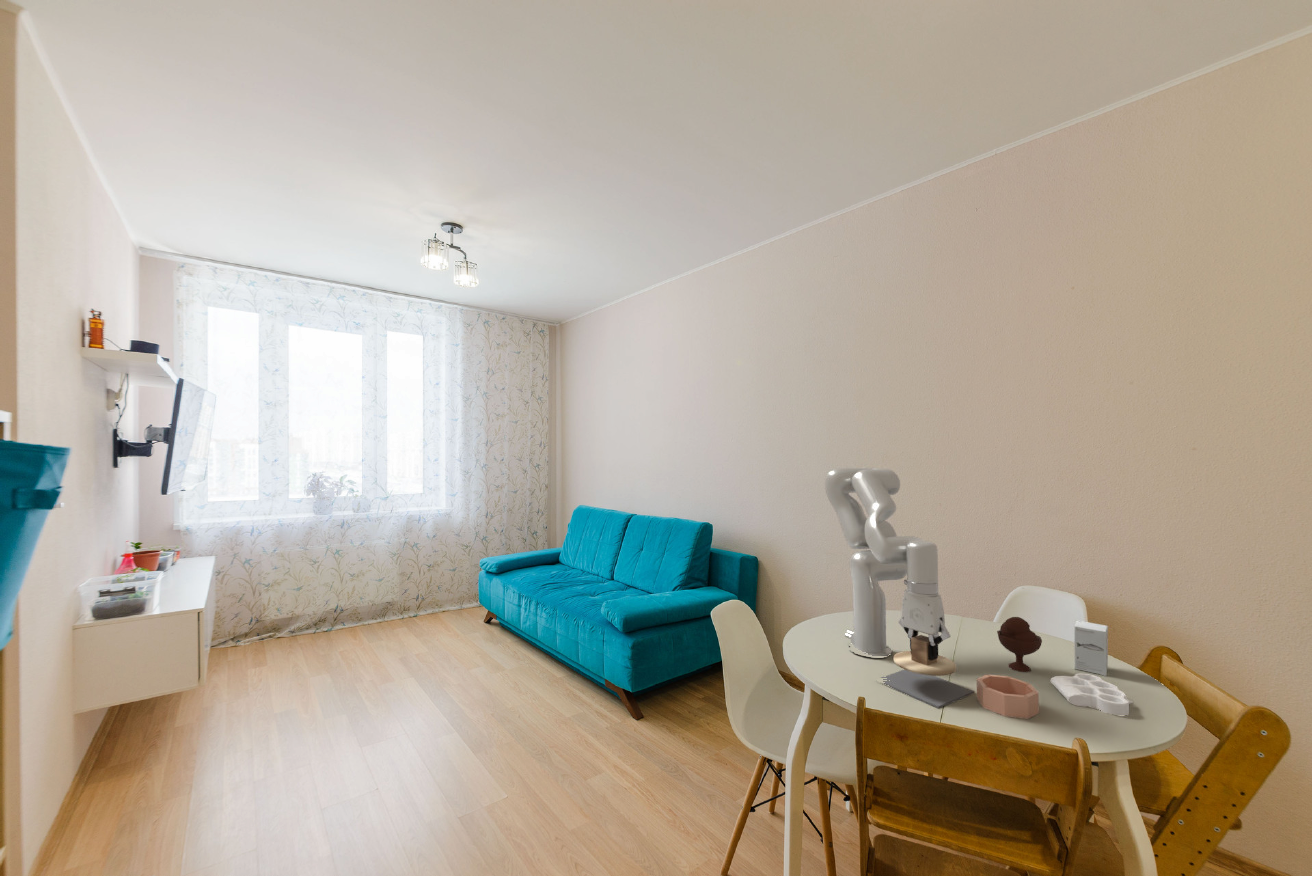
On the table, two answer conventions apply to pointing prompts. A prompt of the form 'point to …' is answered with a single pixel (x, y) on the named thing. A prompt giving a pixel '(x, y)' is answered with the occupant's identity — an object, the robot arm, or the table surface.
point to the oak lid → (923, 659)
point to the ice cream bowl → (1018, 641)
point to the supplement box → (1091, 647)
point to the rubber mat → (927, 688)
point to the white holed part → (1092, 693)
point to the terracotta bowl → (1008, 696)
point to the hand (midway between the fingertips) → (924, 655)
